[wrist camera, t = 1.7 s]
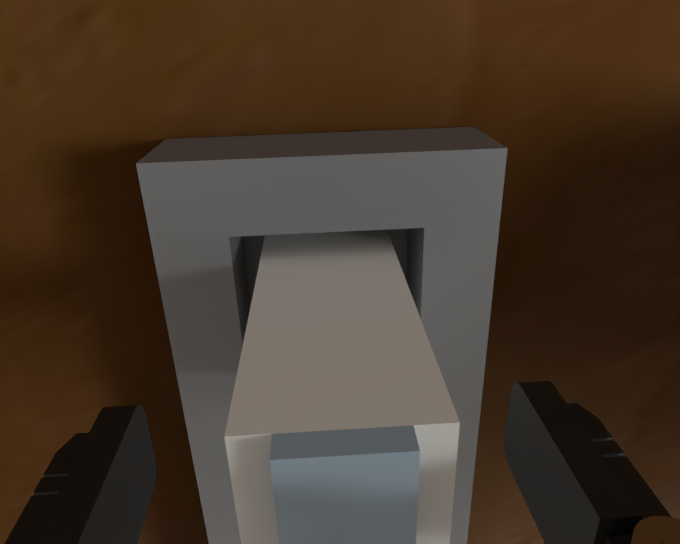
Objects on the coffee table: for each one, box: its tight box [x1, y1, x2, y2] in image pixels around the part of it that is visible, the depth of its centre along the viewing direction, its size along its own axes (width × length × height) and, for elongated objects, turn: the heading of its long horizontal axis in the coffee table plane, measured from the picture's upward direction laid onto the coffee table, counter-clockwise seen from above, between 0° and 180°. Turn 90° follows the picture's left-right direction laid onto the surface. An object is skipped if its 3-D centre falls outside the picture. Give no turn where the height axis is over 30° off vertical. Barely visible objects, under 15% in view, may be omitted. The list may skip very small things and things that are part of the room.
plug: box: [224, 230, 460, 544], centre depth 14 cm, size 4×4×11 cm
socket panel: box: [136, 127, 508, 544], centre depth 21 cm, size 10×24×4 cm, turn 2°
